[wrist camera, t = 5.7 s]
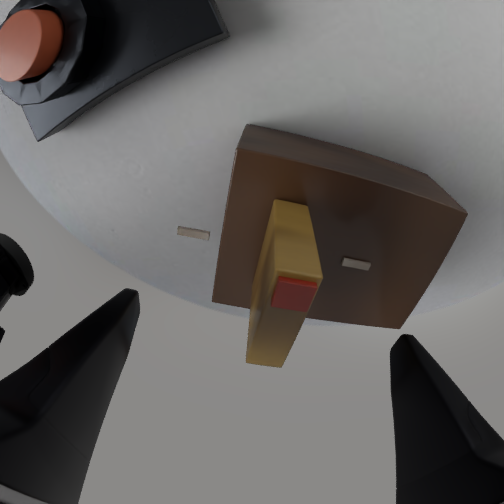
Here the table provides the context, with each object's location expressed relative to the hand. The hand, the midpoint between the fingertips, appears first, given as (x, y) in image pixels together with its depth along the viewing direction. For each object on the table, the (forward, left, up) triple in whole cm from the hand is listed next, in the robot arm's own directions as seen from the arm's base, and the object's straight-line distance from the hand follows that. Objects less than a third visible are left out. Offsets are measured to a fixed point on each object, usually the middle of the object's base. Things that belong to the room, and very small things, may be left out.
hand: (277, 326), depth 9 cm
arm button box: (-5, +14, -10) cm, 18 cm away
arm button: (-7, +14, -6) cm, 17 cm away
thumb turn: (0, 0, -5) cm, 5 cm away
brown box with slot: (+3, -2, -10) cm, 10 cm away
